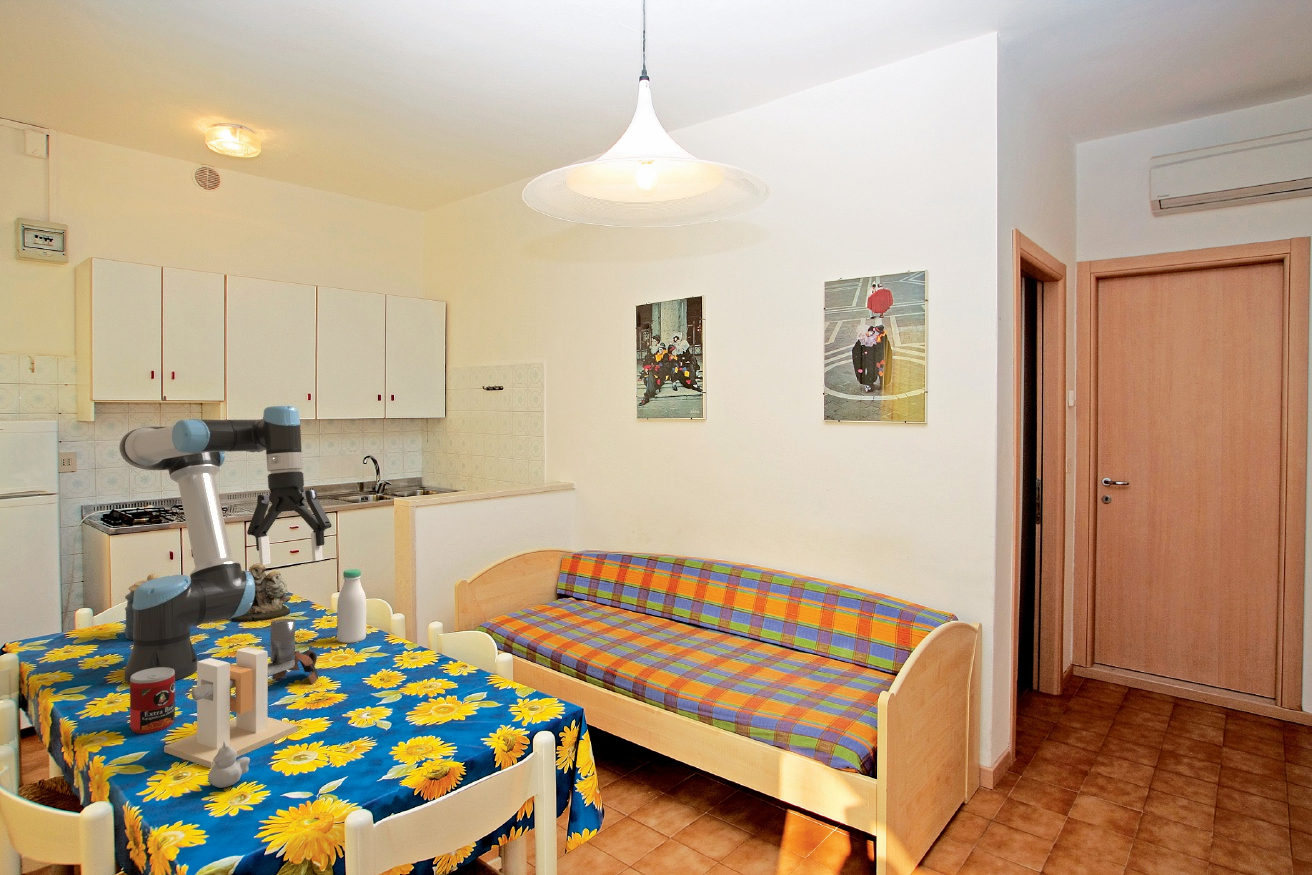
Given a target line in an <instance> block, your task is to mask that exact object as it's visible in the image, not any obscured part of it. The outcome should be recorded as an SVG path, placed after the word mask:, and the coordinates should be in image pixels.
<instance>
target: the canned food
mask: <svg viewBox="0 0 1312 875" xmlns="http://www.w3.org/2000/svg"><path fill="white" fill-rule="evenodd" d="M175 694H176V680H175V671H174V669H172V668H167V667H158V668H150V669H145V670H142V671H139V672H136V673H134V674H133V675H131V677H130V683H129V713H130V714H129V718H130V720H129V721H130V722H129V723H130V724H129V725H130V729H131V731H132V732H133V731H134V732H133V733H135V732H136V734H150V733H151V732H153V733H156V732H155V731H157V732H160V731H159V730H161V731H163V729H164V730H166V729H168V728H170V727H171V726H172V725H173V724H174V721H175V719H176V713H175V712H176V702H175V701H176V695H175ZM165 728H166V729H165Z"/></svg>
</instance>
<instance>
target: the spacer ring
mask: <svg viewBox="0 0 1312 875" xmlns="http://www.w3.org/2000/svg"><path fill="white" fill-rule="evenodd" d="M230 678H231V679H235V680H236V687H235V696H232V688H231V689H230V712H231V713H234V714H235V713H239V714H242V713H245V712H247V711H250V710H252V708H253V669H249V668H245V667H241V666H237V665H236V664H233V663H230Z"/></svg>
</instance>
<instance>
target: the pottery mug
mask: <svg viewBox="0 0 1312 875" xmlns="http://www.w3.org/2000/svg"><path fill="white" fill-rule="evenodd" d="M317 659H318V658H317V653H316V652H315V651H314V650H312V649H307V650H305V651H304V652H302V653H301V652H300V650H295V659H294V660H295V665H294V667H293V668H290V669H287V670H288V671H296V672H297V671H300V667H299V663H300V664H301V666H302V669H303V672H304V673H310V674H309V675H307V679H308V680H309V682H310V685H313V684H315V683H316V682H317V680H318V679H319V675H318V672H317V669H316V664H317ZM287 670H284V671H281V672H278V673H275V674H272V680H277V681H278V682H279V681H281V679H282V678H283V679H287Z"/></svg>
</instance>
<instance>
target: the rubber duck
mask: <svg viewBox="0 0 1312 875" xmlns="http://www.w3.org/2000/svg"><path fill="white" fill-rule="evenodd" d="M237 758H238V757H237V752H236V750H235V749H234V748H232V747H230V746H228V745H227V744H226V743H225V742H223V746H222V747H221V748H220V749H219V751H218V753H217V755H216V756H215V757H214V759H213V761H214V762H215V765H214V766H213V768H212V769H211V768H210V770H209V772H208V774H207V781H208V782H209V783H210V785H212V786H214V787H216V788H221V789H222V788H227V787H231V786H233V785H235V784H236V783H238V782H240V778H241V777H242V775H244V774H245V773H248V772H249V770H250V768H249V764H250V762H251V761H250V760H251V759H250V757H247V756H242V757H240V758H238V759H237Z"/></svg>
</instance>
